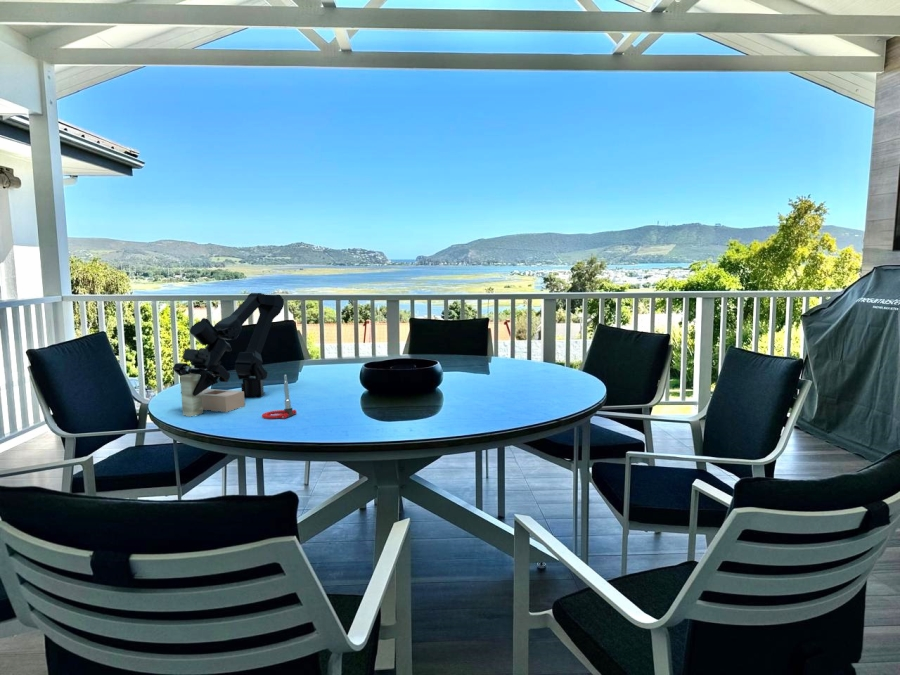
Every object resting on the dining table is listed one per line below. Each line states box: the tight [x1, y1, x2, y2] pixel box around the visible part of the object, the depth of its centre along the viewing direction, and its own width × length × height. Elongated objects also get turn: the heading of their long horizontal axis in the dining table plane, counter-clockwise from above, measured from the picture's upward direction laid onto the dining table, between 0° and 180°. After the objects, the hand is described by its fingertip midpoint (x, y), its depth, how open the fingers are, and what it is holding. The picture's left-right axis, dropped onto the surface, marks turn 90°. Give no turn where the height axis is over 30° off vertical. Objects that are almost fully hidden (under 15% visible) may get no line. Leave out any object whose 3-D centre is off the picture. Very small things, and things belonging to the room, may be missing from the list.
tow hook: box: [261, 374, 298, 420], centre depth 177 cm, size 8×13×9 cm
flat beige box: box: [201, 388, 246, 413], centre depth 190 cm, size 8×16×5 cm, turn 68°
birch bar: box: [179, 374, 204, 417], centre depth 180 cm, size 4×4×12 cm
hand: (187, 394), depth 179 cm, fingers open, 4 cm apart
